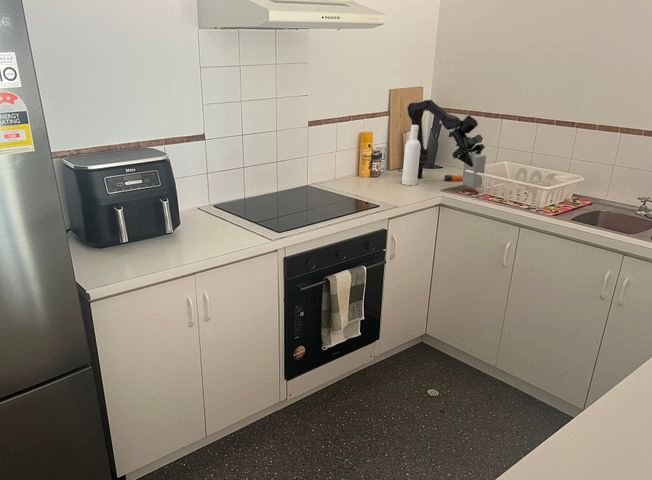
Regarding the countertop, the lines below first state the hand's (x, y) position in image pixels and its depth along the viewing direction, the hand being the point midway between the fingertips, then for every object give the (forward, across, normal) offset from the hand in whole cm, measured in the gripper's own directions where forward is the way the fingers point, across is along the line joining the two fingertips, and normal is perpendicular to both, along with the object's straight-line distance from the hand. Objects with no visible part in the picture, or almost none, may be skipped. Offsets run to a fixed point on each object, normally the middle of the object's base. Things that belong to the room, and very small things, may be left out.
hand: (476, 165), depth 271 cm
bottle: (-11, -14, +31) cm, 36 cm away
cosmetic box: (+7, 0, +9) cm, 11 cm away
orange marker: (-4, +13, +23) cm, 26 cm away
